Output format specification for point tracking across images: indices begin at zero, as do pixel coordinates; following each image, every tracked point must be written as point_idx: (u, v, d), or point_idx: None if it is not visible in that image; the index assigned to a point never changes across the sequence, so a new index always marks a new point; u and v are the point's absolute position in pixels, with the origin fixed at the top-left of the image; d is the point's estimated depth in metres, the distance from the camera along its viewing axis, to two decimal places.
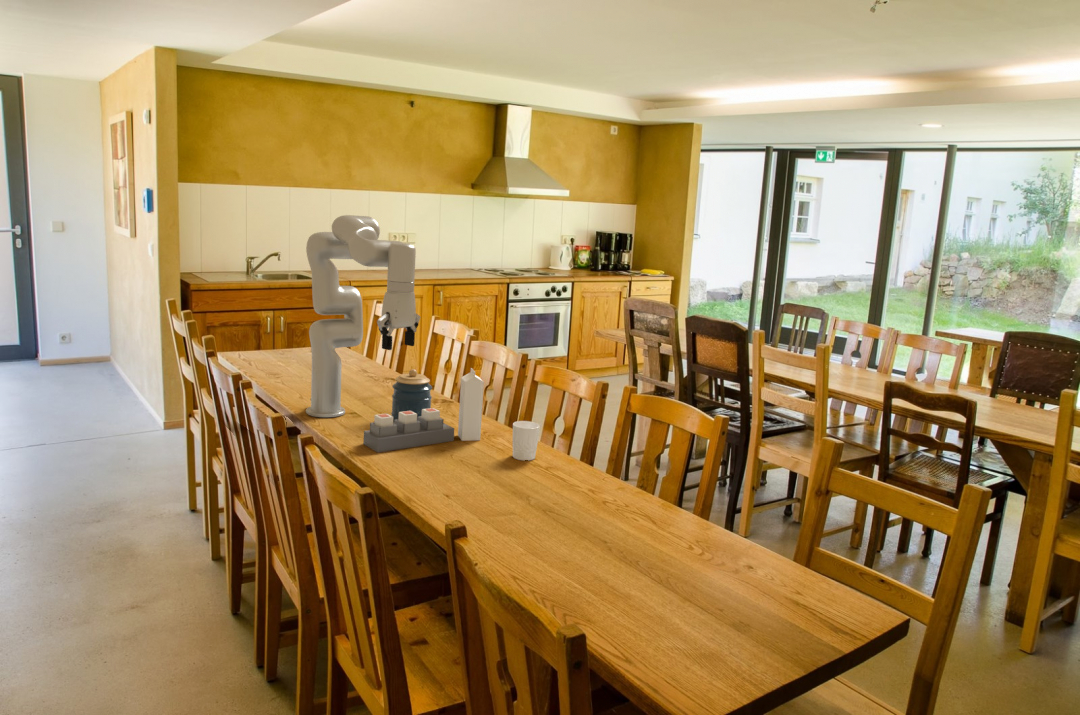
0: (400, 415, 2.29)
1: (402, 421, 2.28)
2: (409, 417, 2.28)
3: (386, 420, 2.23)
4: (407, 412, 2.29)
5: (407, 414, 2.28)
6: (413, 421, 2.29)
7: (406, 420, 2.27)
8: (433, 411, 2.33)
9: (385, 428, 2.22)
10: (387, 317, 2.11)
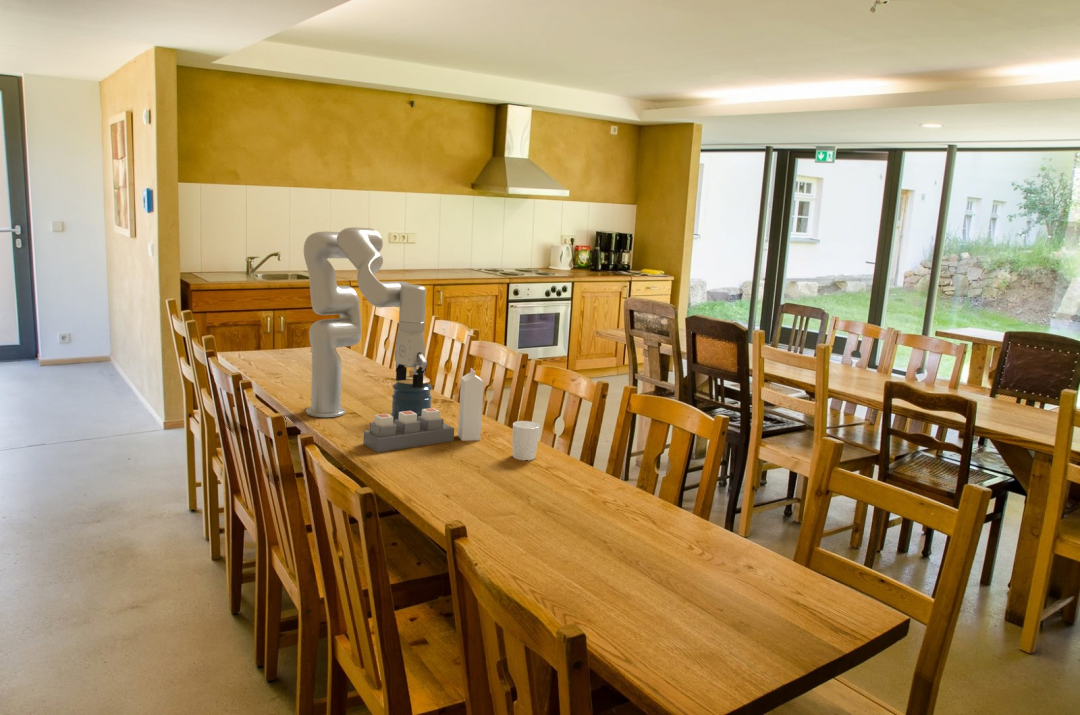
0: (400, 415, 2.29)
1: (402, 421, 2.28)
2: (409, 417, 2.28)
3: (386, 420, 2.23)
4: (407, 412, 2.29)
5: (407, 414, 2.28)
6: (413, 421, 2.29)
7: (406, 420, 2.27)
8: (433, 411, 2.33)
9: (385, 428, 2.22)
10: None
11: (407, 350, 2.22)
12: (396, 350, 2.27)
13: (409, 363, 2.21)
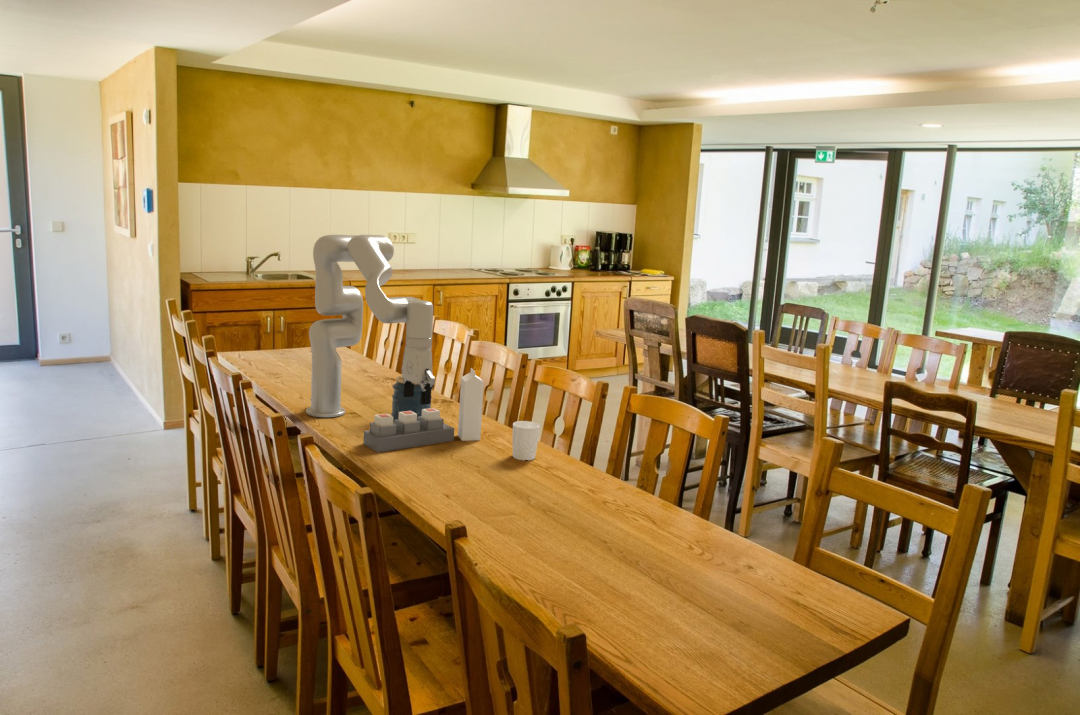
0: (400, 415, 2.29)
1: (402, 421, 2.28)
2: (409, 417, 2.28)
3: (386, 420, 2.23)
4: (407, 412, 2.29)
5: (407, 414, 2.28)
6: (413, 421, 2.29)
7: (406, 420, 2.27)
8: (433, 411, 2.33)
9: (385, 428, 2.22)
10: None
11: (415, 366, 2.19)
12: (403, 366, 2.24)
13: (417, 380, 2.19)
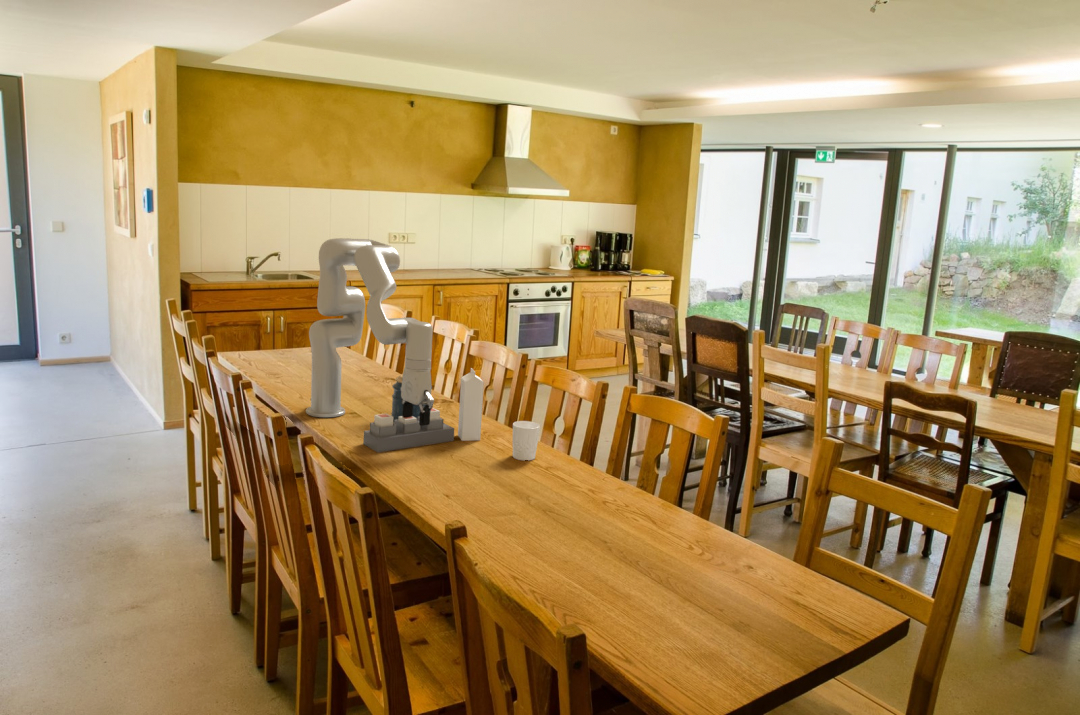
0: (400, 419, 2.29)
1: None
2: (409, 422, 2.28)
3: (386, 420, 2.23)
4: None
5: (407, 419, 2.28)
6: None
7: None
8: (433, 411, 2.33)
9: (385, 428, 2.22)
10: None
11: (414, 388, 2.20)
12: (402, 387, 2.25)
13: (416, 401, 2.20)
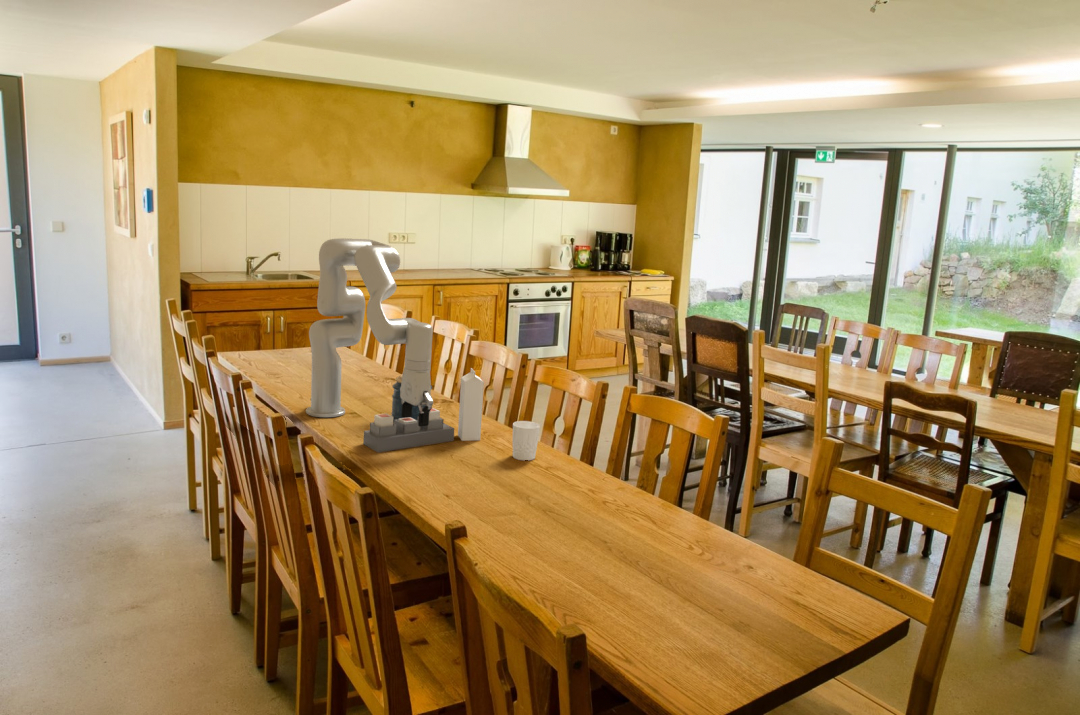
0: None
1: None
2: None
3: (386, 420, 2.23)
4: (407, 419, 2.30)
5: (407, 421, 2.28)
6: None
7: None
8: (433, 411, 2.33)
9: (385, 428, 2.22)
10: None
11: (413, 388, 2.20)
12: (402, 387, 2.25)
13: (415, 402, 2.20)
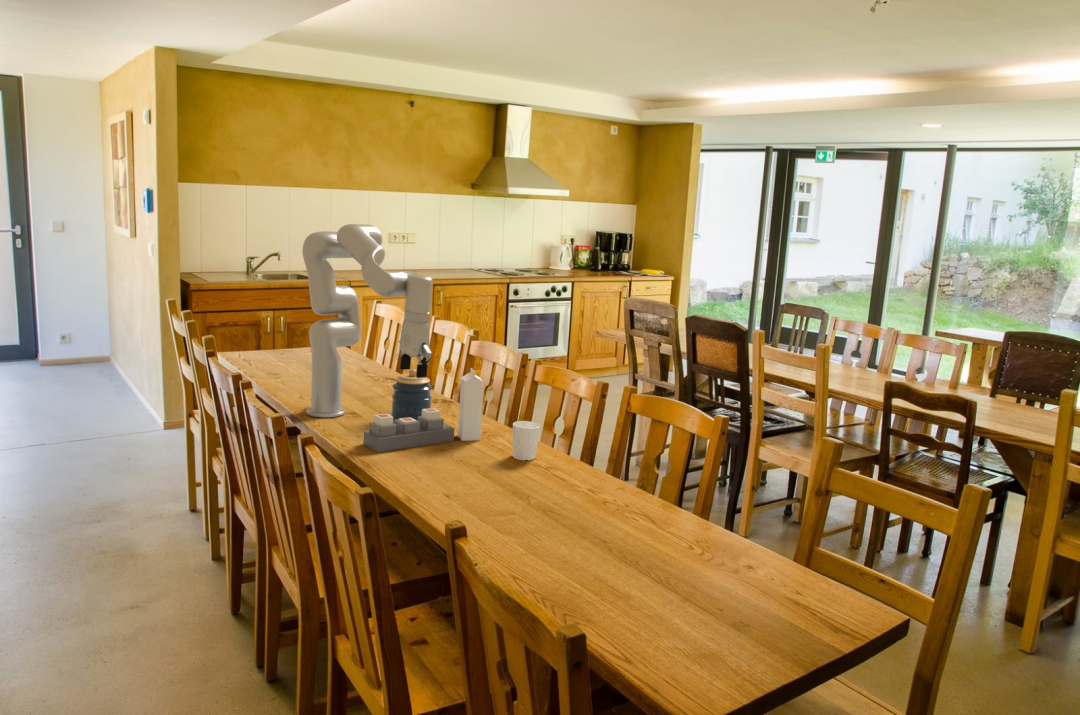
0: None
1: None
2: None
3: (386, 420, 2.23)
4: (407, 419, 2.30)
5: (407, 421, 2.28)
6: None
7: None
8: (433, 411, 2.33)
9: (385, 428, 2.22)
10: None
11: (412, 340, 2.23)
12: (401, 339, 2.28)
13: (414, 353, 2.22)
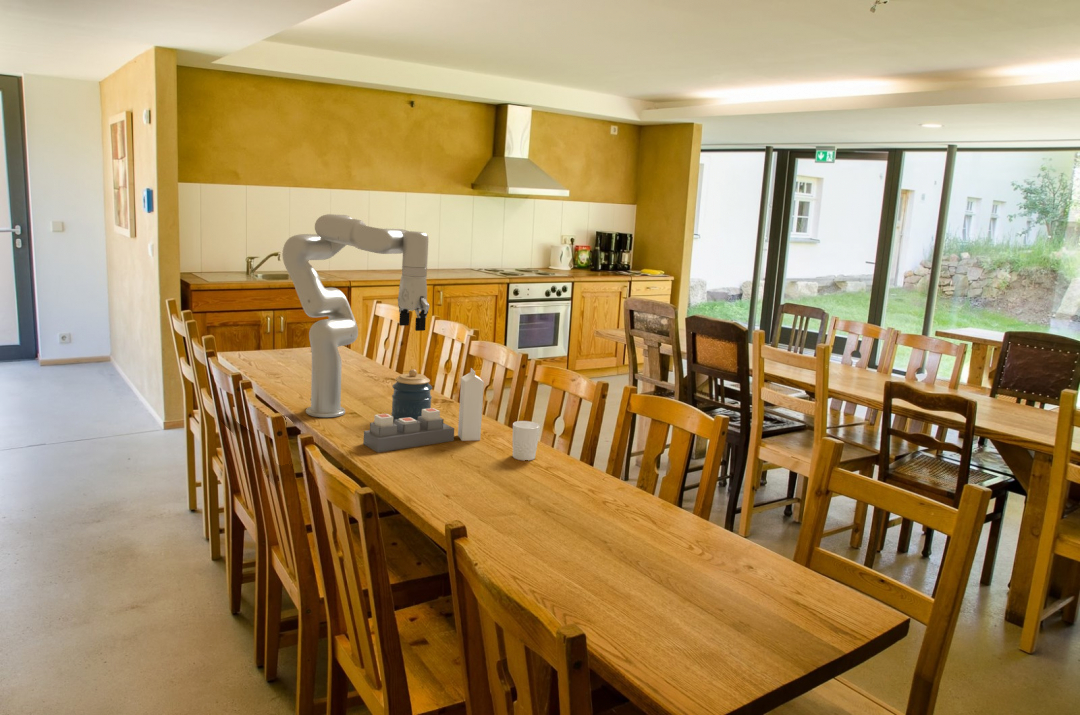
0: None
1: None
2: None
3: (386, 420, 2.23)
4: (407, 419, 2.30)
5: (407, 421, 2.28)
6: None
7: None
8: (433, 411, 2.33)
9: (385, 428, 2.22)
10: None
11: (410, 294, 2.30)
12: (399, 295, 2.35)
13: (412, 306, 2.30)
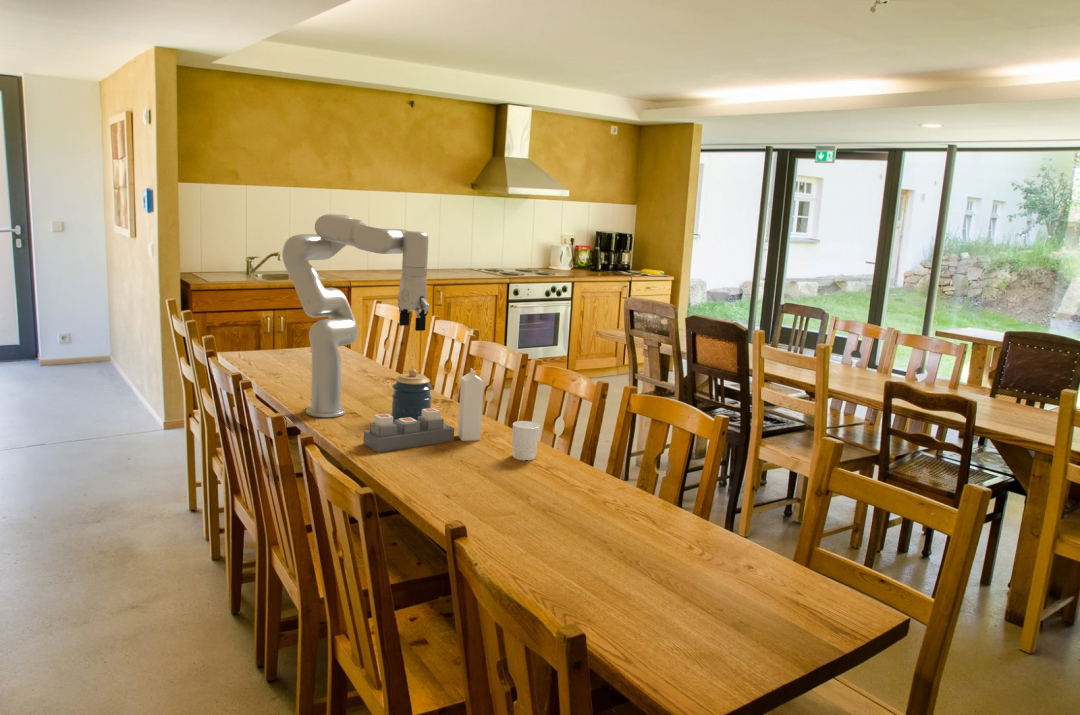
0: None
1: None
2: None
3: (386, 420, 2.23)
4: (407, 419, 2.30)
5: (407, 421, 2.28)
6: None
7: None
8: (433, 411, 2.33)
9: (385, 428, 2.22)
10: None
11: (410, 294, 2.30)
12: (399, 295, 2.35)
13: (412, 306, 2.30)
